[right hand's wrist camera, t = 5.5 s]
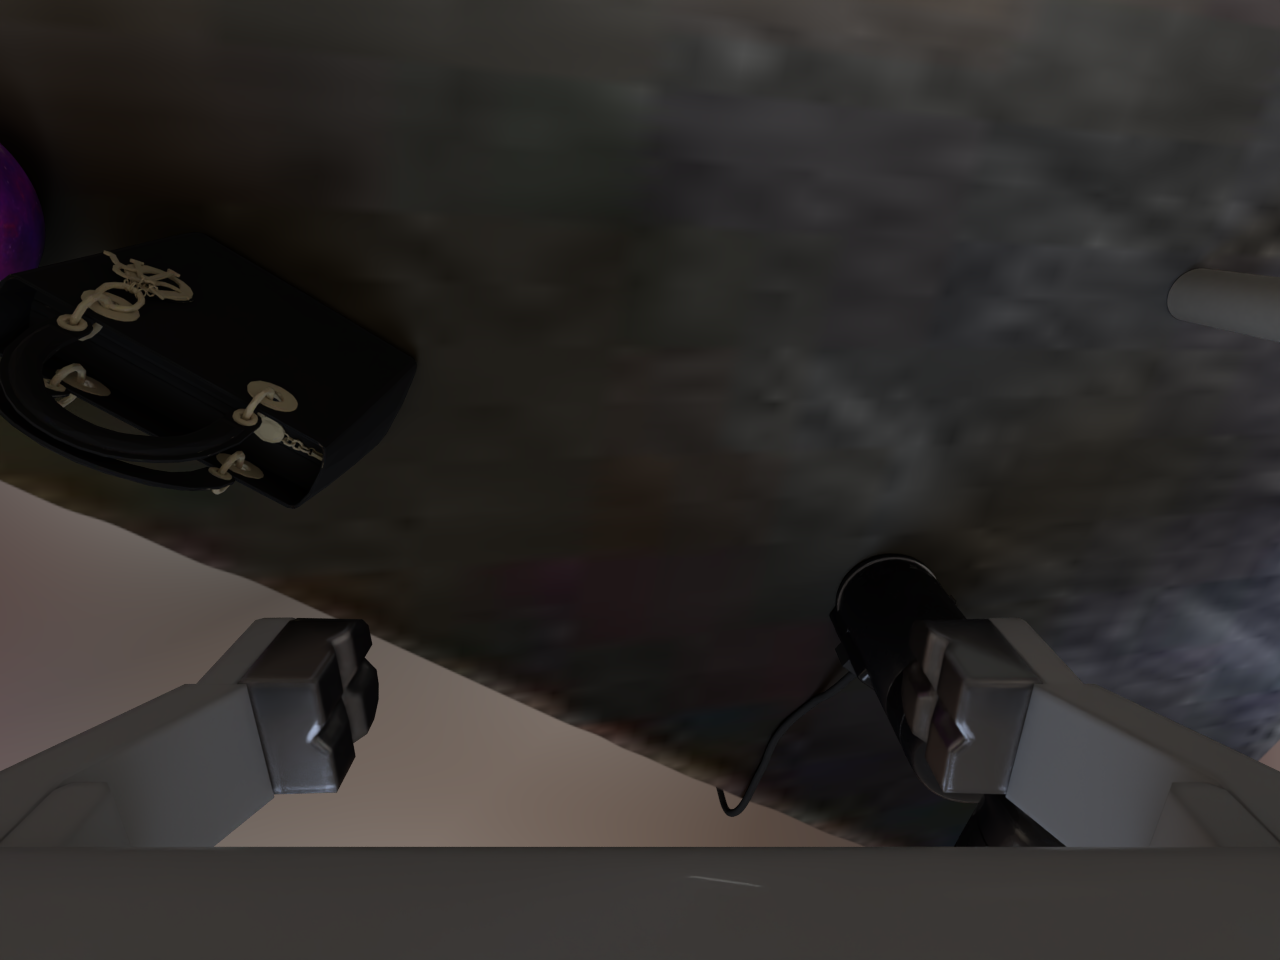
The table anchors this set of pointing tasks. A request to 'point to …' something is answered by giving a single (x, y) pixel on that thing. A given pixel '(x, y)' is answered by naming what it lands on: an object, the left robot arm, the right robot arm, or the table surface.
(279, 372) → the handbag
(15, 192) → the decorative orb
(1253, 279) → the bottle
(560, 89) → the table surface
